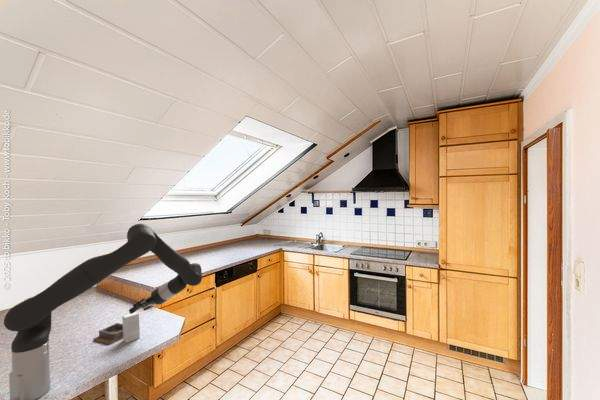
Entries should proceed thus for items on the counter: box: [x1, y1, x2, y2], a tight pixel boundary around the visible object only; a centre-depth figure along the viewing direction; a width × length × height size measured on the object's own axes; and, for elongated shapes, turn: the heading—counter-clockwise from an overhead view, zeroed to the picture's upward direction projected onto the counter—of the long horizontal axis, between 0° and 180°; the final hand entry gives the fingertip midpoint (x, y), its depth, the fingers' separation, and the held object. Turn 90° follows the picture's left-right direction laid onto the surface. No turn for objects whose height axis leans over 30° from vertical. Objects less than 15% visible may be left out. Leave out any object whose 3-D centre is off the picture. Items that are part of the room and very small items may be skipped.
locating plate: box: [93, 322, 123, 346], centre depth 134 cm, size 14×11×4 cm
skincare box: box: [121, 311, 141, 344], centre depth 130 cm, size 6×4×12 cm
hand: (137, 310), depth 128 cm, fingers open, 8 cm apart
